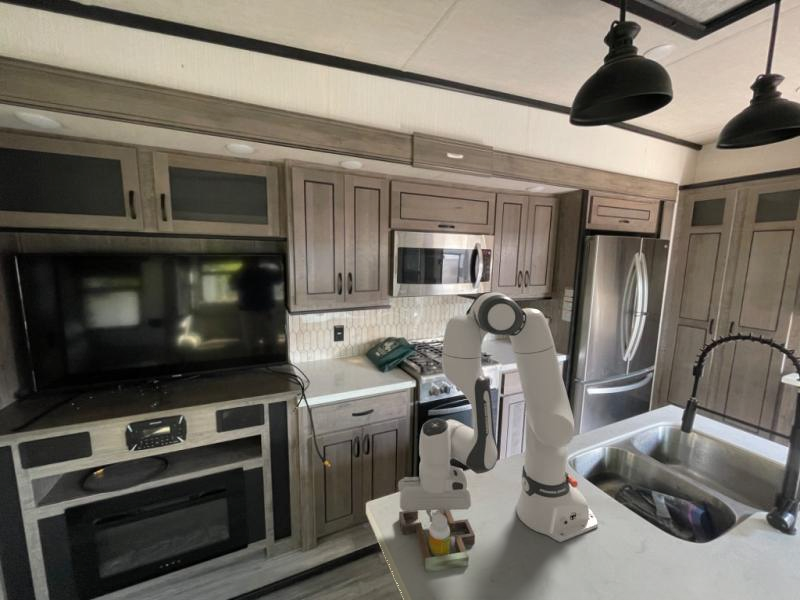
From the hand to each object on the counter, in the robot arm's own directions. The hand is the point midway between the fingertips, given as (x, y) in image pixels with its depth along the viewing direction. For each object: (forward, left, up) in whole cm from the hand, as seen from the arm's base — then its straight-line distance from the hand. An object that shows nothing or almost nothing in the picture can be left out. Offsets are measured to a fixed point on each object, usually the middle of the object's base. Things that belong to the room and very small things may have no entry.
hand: (434, 520), depth 95 cm
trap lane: (0, +3, -2) cm, 4 cm away
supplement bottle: (+1, +8, -2) cm, 8 cm away
